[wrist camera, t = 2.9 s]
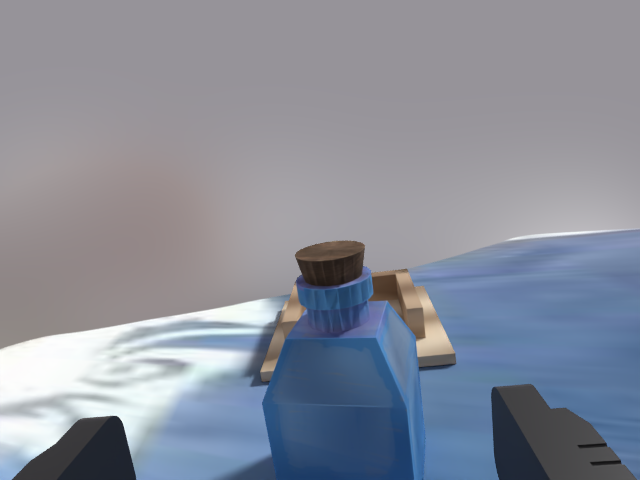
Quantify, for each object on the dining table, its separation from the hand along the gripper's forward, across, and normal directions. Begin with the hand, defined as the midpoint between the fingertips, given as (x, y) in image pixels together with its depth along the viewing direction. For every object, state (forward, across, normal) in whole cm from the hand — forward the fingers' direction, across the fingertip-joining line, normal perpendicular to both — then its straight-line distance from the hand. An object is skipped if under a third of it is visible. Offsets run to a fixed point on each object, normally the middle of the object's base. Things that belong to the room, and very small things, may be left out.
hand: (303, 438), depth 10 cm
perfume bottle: (+12, 0, +11) cm, 16 cm away
